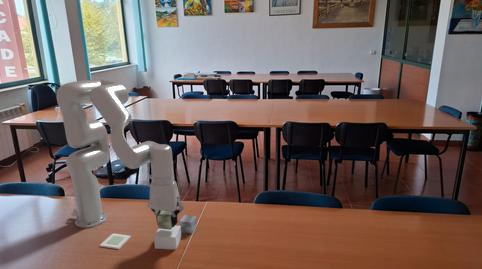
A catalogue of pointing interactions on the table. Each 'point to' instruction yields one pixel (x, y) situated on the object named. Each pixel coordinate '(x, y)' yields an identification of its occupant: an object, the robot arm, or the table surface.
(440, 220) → the table surface
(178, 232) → the grey base block
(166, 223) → the sage block
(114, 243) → the card
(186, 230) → the slate block
